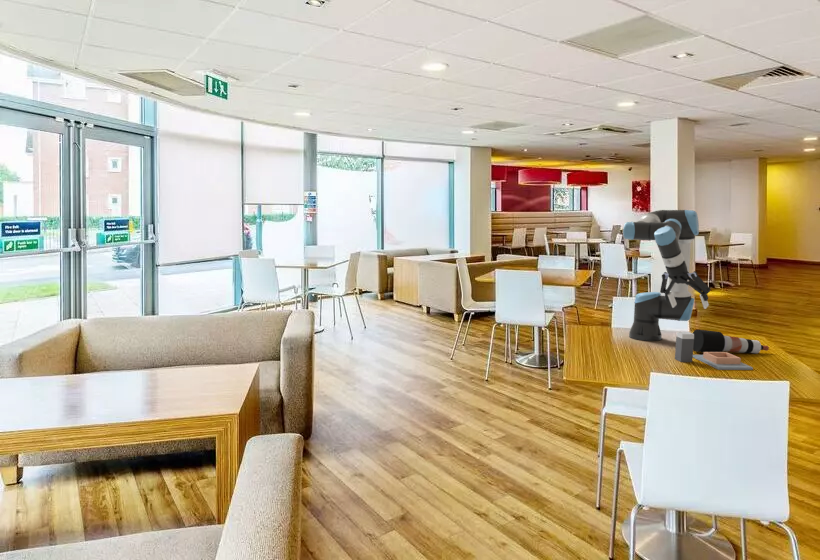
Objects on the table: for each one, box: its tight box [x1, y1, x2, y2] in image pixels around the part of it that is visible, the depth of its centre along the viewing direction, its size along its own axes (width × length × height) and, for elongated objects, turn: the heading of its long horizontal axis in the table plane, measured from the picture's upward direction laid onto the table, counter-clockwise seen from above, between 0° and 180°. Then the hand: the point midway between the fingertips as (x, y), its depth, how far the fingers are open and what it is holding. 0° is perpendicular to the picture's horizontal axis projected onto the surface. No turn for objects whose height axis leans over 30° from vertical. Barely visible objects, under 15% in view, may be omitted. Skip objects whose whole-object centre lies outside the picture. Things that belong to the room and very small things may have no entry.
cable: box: [691, 329, 770, 354], centre depth 250 cm, size 10×34×10 cm
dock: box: [693, 351, 754, 371], centre depth 232 cm, size 20×14×4 cm
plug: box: [674, 331, 694, 363], centre depth 235 cm, size 5×5×12 cm
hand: (690, 306), depth 231 cm, fingers open, 13 cm apart
